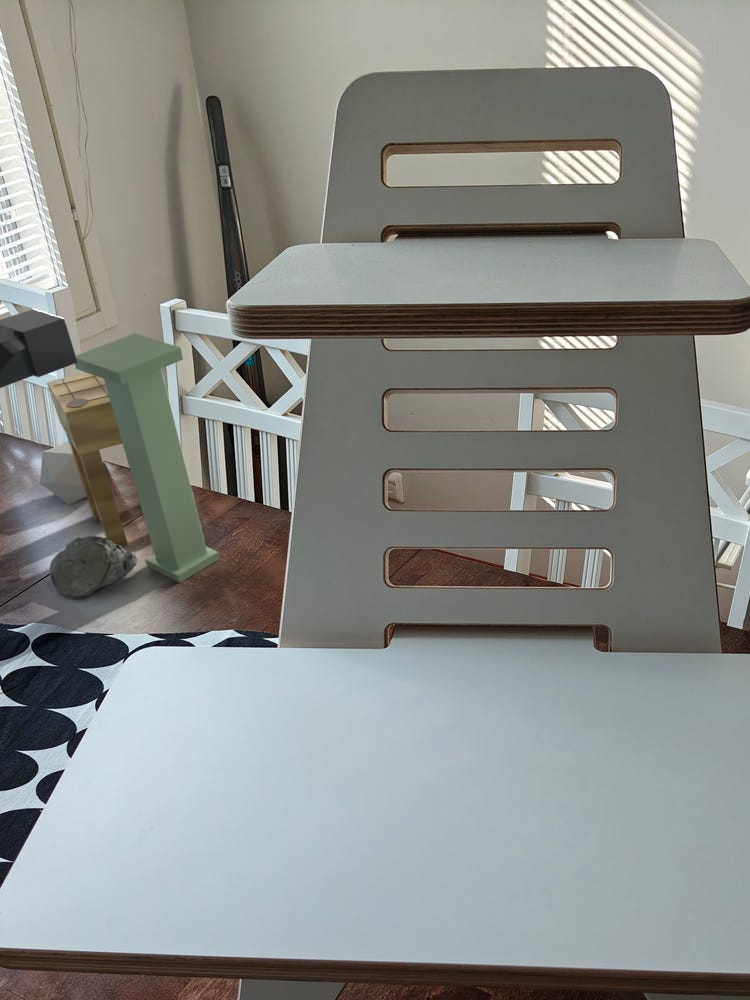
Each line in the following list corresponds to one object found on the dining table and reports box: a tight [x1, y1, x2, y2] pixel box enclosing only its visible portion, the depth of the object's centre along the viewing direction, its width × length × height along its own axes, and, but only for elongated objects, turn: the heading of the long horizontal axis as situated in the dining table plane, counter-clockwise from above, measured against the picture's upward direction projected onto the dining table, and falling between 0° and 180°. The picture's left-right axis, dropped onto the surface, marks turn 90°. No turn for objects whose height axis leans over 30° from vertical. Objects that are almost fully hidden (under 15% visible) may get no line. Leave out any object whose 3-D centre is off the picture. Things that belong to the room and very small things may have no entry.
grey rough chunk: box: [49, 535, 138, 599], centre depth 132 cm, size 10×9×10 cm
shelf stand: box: [74, 333, 220, 584], centre depth 126 cm, size 9×9×30 cm
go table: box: [46, 372, 129, 547], centre depth 138 cm, size 12×12×21 cm
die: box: [39, 441, 104, 506], centre depth 149 cm, size 8×9×10 cm
